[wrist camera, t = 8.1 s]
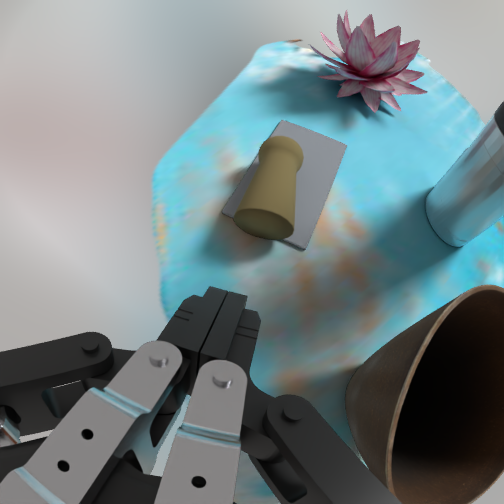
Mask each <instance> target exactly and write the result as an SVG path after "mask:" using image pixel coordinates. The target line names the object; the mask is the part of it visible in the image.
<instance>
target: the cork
mask: <svg viewBox="0 0 504 504" xmlns="http://www.w3.org/2000/svg"><path fill="white" fill-rule="evenodd" d="M258 159H259V163H260V164H259V166H258V168H257V170H256V172H255V174H254V176H253V178H252V180H251V182H250V184H249V186H248V188H247V190H246V192H245V194H244V196H243V198H242V200H241V202H240V204H239V206H238V208H237V210H236V212H235V214H234V222H235V223H236V225H237V226H238V227H239V228H241V229H242V230H243V231H245V232H247V233H249V234H251V235H254V236H256V237H260V238H264V239H271V240H280V239H285V238H289V237H290V236H291V235H293V232H294V225H295V202H296V173H297V172H298V171H299V170H300V168H301V166H302V163H303V159H304V156H303V151H302V148H301V147H300V145H299V144H298V143H297V142H296V141H295V140H294V139H291V138H289V137H286V136H273V137H270V138H268V139H267V140H266V141H264V142H263V144H262V145H261V147H260V149H259V155H258Z"/></svg>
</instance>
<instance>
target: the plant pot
mask: <svg viewBox="0 0 504 504" xmlns="http://www.w3.org/2000/svg"><path fill="white" fill-rule="evenodd" d="M345 406H346V414H347V419H348V424H349V427H350V430H351V433H352V436H353V438H354V441H355V443H356V445H357V448H358V450H359V452H360V454H361V456H362V458H363V460H364V462H365V463H366V465H367V467H368V469H369V470H370V471H371V472H372V473H373V474H374V475H375V476H376V478H377V479H378V480H379V481H380V482H381V483H382V484H383V485H384V486H385V487H386V488H387V489H388V490H389V491H390V492H391V493H392V494H393V495H394V496H395V497H396V498H397V499H398V500H399V501H400V502H401V503H402V504H471V503H473V502H474V501H475V500H477V498H479V497H480V496H482V495H483V494H484V493H485V492H486V491H487V490H488V489H489V488H490V487H491V486H492V485H493V484H494V483H495V482H496V481H497V480H498V478H499V477H500V476H501V475H502V473H503V472H504V288H502V287H499V286H495V285H481V286H478V287H474V288H472V289H470V290H468V291H466V292H464V293H463V294H461V295H460V296H458V297H456V298H455V299H453V300H452V301H450V302H449V303H447V304H445V305H444V306H442V307H441V308H439V309H437V310H436V311H434V312H432V313H431V314H429V315H427V316H426V317H424V318H423V319H421V320H420V321H418V322H417V323H415V324H414V325H412V326H411V327H409V328H408V329H406V330H405V331H403V332H402V333H400V334H399V335H397V336H396V337H394V338H393V339H392V340H390V341H389V342H388V343H386V344H385V345H384V346H382V347H381V348H380V349H379V350H377V351H376V352H375V353H374V354H373V355H372V356H371V357H369V358H368V359H367V360H366V361H365V362H364V363H363V364H362V365H361V366H360V368H359V369H358V370H357V371H356V372H355V374H354V375H353V376H352V378H351V380H350V382H349V384H348V386H347V389H346V395H345Z"/></svg>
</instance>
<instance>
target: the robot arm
mask: <svg viewBox="0 0 504 504" xmlns="http://www.w3.org/2000/svg"><path fill="white" fill-rule="evenodd" d="M425 206H426V213H427V217H428V219H429V222H430V224H431V226H432V227H433V229H434V231H435V232H436V233H437V235H438V236H439V237H440V238H441V239H442V240H443V241H445V242H446V243H447V244H449V245H451V246H455V247H461V246H463V245H465V244H466V243H468V242H469V241H471V240H472V239H474V238H475V237H477V236H478V235H479V234H481V233H482V232H484V231H485V230H486V229H488V228H489V227H491V226H492V225H493V224H495V223H496V222H497V221H498V220H500V219H501V218H502V217H504V102H502V104H501V105H500V106H499V108H498V109H497V110H496V112H495V114H494V115H493V116H492V118H491V119H490V120H489V122H488V123H487V124H486V126H485V127H484V128H483V130H482V131H481V133H480V134H479V135H478V137H477V138H476V139H475V140H474V142H473V143H472V144H471V145H470V147H469V148H467V149H466V150H465V151H464V152H463V153H462V155H461V156H460V157H459V158H458V159H457V161H456V162H455V163H454V164H453V165H452V167H451V168H450V169H449V170H448V171H447V172H446V174H445V175H444V176H443V177H442V178H441V179H440V181H439V182H438V183H437V184H436V185H435V188H434V189H433V190H432V191H431V192H430V193H429V194H428V196H427V198H426V204H425ZM246 301H247V296H245V295H241V294H238V293H234V292H230V291H229V292H228V291H226V290H222V289H218V288H215V287H211V286H210V287H209V288H208V289H207V291H206V293H205V294H204V296H203V297H200V296H196V295H192V296H191V297H189V298H187V299H185V300H184V301H183V302H182V304H181V305H180V307H179V308H178V310H177V311H176V312H175V314H174V316H173V317H172V318H171V320H170V321H169V323H168V324H167V325H166V327H165V329H164V330H163V331H162V333H161V334H160V336H159V337H158V339H157V340H156V341H151V342H147V343H145V344H143V345H142V346H141V347H140V348H139V349H138V350H137V351H131V350H122V349H115V348H112V345H111V342H110V340H109V339H108V338H107V337H106V336H105V335H103V334H100V333H97V332H86V333H82V334H78V335H74V336H70V337H65V338H61V339H57V340H53V341H49V342H44V343H40V344H35V345H31V346H26V347H22V348H17V349H12V350H8V351H3V352H0V504H236V503H235V502H233V498H234V491H235V484H236V477H237V470H238V463H239V456H240V450H242V451H244V452H246V453H248V455H249V458H250V460H251V461H252V463H253V464H254V466H255V467H256V469H257V470H258V472H259V473H260V475H261V476H262V478H263V479H264V481H265V482H266V483H267V485H268V486H269V488H270V489H271V491H272V492H273V493H274V495H275V496H276V497H277V499H278V500H279V501H280V503H281V504H402V503H401V502H400V501H399V500H398V499H397V498H396V497H395V496H394V495H393V494H392V493H391V492H390V491H389V490H388V489H387V488H386V487H385V486H384V485H383V484H382V483H381V482H380V481H379V480H378V479H377V478H376V476H375V475H374V474H373V473H372V472H371V471H370V470H369V469H368V468H367V467H366V466H365V465H364V464H363V463H362V462H361V460H360V459H359V458H358V457H357V456H356V455H355V454H354V453H353V452H352V451H351V449H350V448H349V447H348V446H347V445H346V444H345V443H344V442H343V441H342V439H341V438H340V437H339V436H338V435H337V434H336V433H335V431H334V430H333V429H332V428H331V427H330V426H329V424H328V423H327V422H326V421H325V420H324V419H323V417H322V416H321V415H320V414H319V413H318V412H317V410H316V409H315V408H314V407H313V406H312V405H311V404H310V403H309V402H308V401H307V400H305V399H304V398H302V397H299V396H296V395H282V396H279V397H276V398H274V397H272V396H270V395H268V394H266V393H264V392H262V391H261V390H259V389H258V388H257V387H256V386H255V385H254V384H253V382H252V380H251V378H250V374H249V371H250V366H251V361H252V357H253V353H254V349H255V344H256V340H257V336H258V331H259V327H260V323H261V320H260V318H259V315H258V312H256V311H252V310H248V309H245V305H246ZM79 380H81V381H79ZM76 381H79V382H76ZM72 382H75V383H72ZM68 383H71V384H68ZM64 384H68V385H64ZM60 385H64V386H60ZM57 386H60V387H57ZM53 387H56V388H53ZM186 395H190V396H191V398H190V401H189V404H188V407H187V411H186V414H185V417H184V420H183V423H182V425H181V427H179V428H178V430H177V432H176V435H175V438H174V441H173V444H172V447H171V450H170V453H169V457H168V460H167V463H166V466H165V470H164V473H163V476H162V477H160V476H153V475H150V473H151V472H152V470H153V467H154V465H155V462H156V458H157V454H158V451H159V449H160V447H161V446H162V444H163V442H164V440H165V439H166V437H167V435H168V433H169V431H170V429H171V427H172V426H173V424H174V422H175V420H176V419H177V417H178V415H179V413H180V411H181V406H182V404H183V401H184V399H185V397H186ZM52 429H54V430H53V431H52V433H51V434H50V435H49V436H48V437H43V438H39V439H35V440H31V441H27V442H23V443H21V442H20V439H19V437H20V436H25V435H30V434H35V433H40V432H44V431H48V430H52Z"/></svg>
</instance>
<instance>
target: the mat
mask: <svg viewBox="0 0 504 504" xmlns="http://www.w3.org/2000/svg"><path fill="white" fill-rule="evenodd" d="M273 136H286V137H289V138H291V139H294V140H295V141H296V142H297V143H298V144H299V145H300V147H301V148H302V151H303V156H304V159H303V163H302V166H301V168H300V170H299V171H298V172H297V173H296V202H295V225H294V232H293V235H291V236H290V237H289V238H285V239H282V240H284V241H286V242H288V243H291V244H293V245H295V246H297V247H300V248H302V249H304V250H305V249H306V247H307V245H308V243H309V240H310V238H311V235H312V233H313V231H314V228H315V226H316V224H317V221H318V219H319V216H320V214H321V211H322V209H323V206H324V204H325V201H326V199H327V196H328V194H329V191H330V189H331V186H332V184H333V181H334V179H335V176H336V173H337V171H338V168H339V166H340V163H341V160H342V158H343V155H344V152H345V150H346V147H347V145H346V144H343V143H341V142H339V141H336V140H334V139H332V138H329V137H327V136H324V135H322V134H319V133H317V132H314V131H312V130H309V129H306V128H304V127H301V126H298V125H296V124H293V123H290V122H287V121H284V120H281V122H280V123H279V125H278V126H277V128H276V129H275V130H274V132H273V133H272V135H271V136H270V137H273ZM258 155H259V154H258ZM259 164H260V163H259V159H258V156H257V157H256V159H255V160H254V162H253V163H252V165H251V166H250V168H249V169H248V171H247V173H246V174H245V176H244V177H243V179H242V180H241V182H240V183H239V185H238V187H237V188H236V190H235V191H234V193H233V194H232V196H231V198H230V199H229V201H228V202H227V204H226V206H225V207H224V209H223V210H222V213H223V214H225V215H227V216H230V217H232V218H234V214H235V212H236V210H237V208H238V206H239V204H240V202H241V200H242V198H243V196H244V194H245V192H246V190H247V188H248V186H249V184H250V182H251V180H252V178H253V176H254V174H255V172H256V170H257V168H258V166H259Z"/></svg>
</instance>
